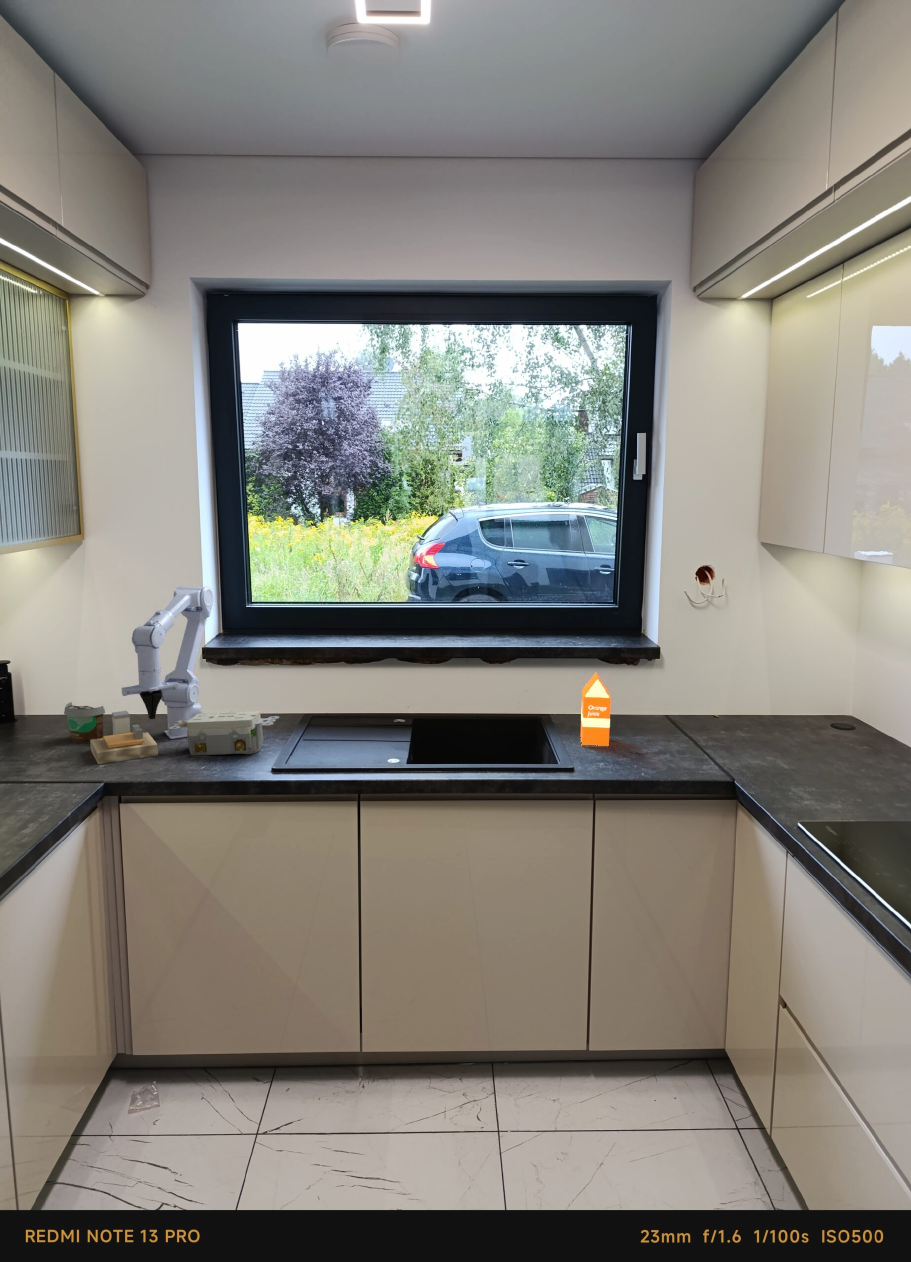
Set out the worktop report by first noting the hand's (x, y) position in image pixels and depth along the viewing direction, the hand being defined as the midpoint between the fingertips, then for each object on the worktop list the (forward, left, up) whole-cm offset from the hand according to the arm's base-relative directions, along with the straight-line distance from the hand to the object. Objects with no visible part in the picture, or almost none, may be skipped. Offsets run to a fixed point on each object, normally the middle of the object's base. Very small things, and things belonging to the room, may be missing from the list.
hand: (151, 718), depth 230 cm
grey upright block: (+6, -12, -9) cm, 16 cm away
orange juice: (-111, +55, -9) cm, 124 cm away
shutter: (+8, 0, -5) cm, 9 cm away
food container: (+16, -17, -9) cm, 25 cm away
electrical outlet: (-17, +11, -9) cm, 22 cm away
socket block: (+8, 0, -9) cm, 12 cm away
